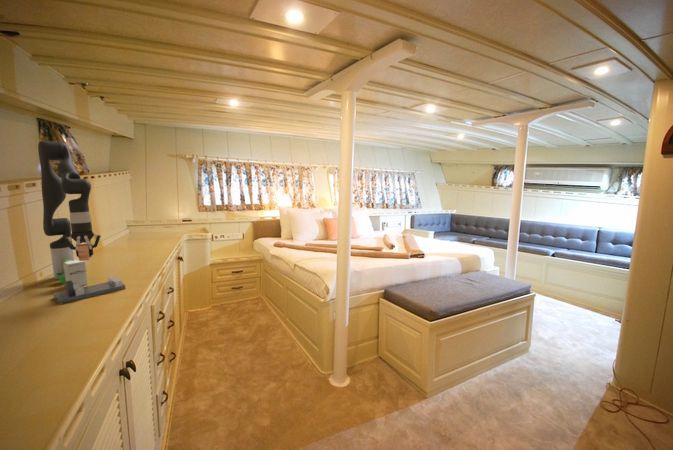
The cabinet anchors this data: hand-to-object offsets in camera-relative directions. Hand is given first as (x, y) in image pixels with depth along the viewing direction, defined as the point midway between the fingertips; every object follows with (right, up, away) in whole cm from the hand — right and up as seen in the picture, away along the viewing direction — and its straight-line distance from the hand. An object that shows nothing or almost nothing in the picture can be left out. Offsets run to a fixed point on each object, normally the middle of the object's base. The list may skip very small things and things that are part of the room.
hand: (85, 256), depth 145 cm
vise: (+1, -18, +1) cm, 18 cm away
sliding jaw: (-2, -16, -4) cm, 17 cm away
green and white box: (-23, -15, +19) cm, 34 cm away
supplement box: (-15, -16, +13) cm, 25 cm away
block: (0, -1, 0) cm, 1 cm away
